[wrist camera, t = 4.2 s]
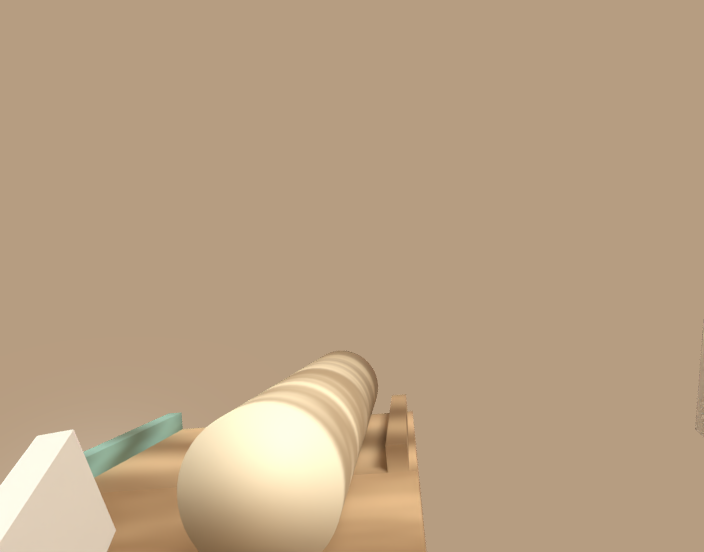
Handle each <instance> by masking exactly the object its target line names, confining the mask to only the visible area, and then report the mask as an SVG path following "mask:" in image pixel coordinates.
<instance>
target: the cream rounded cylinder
mask: <svg viewBox="0 0 704 552" xmlns="http://www.w3.org/2000/svg"><path fill="white" fill-rule="evenodd" d="M377 392H378V383H377V378H376V375H375V372H374V370H373V368H372V367H371V366H370V364H369V363H368V362H367V361H366V360H365V359H364V358H362V357H361V356H359V355H357V354H355V353H352V352H349V351H335V352H331V353H328V354H326V355H325V356H323V357H321V358H319V359H318V360H316V361H314V362H313V363H311V364H309V365H308V366H306V367H304V368H303V369H301V370H299V371H297V372H296V373H294V374H293V375H291V376H289V377H288V378H286V379H284V380H283V381H281V382H279V383H277V384H276V385H274V386H273V387H271V388H269V389H268V390H266V391H264V392H262V393H261V394H259V395H257V396H256V397H254V398H253V399H251V400H249V401H247V402H246V403H244V404H242V405H241V406H239V407H238V408H236V409H234V410H232V411H231V412H229V413H228V414H226V415H224V416H222V417H221V418H219V419H217V420H216V421H214V422H213V423H211V424H210V425H209V426H207V427H206V428H205V429H204V430H203V431H202V432H201V433H200V434H199V435H198V436H197V437H196V439H195V440H194V441H193V443H192V444H191V446H190V447H189V449H188V451H187V453H186V455H185V457H184V459H183V462H182V464H181V468H180V472H179V476H178V483H177V501H178V509H179V513H180V518H181V521H182V523H183V526H184V529H185V531H186V533H187V535H188V537H189V538H190V540H191V541H192V543H193V544H194V546H195V547H196V549H197V550H198V551H199V552H323V550H324V549H325V548H326V546H327V545H328V544H329V542H330V540H331V538H332V537H333V535H334V532H335V530H336V528H337V525H338V522H339V519H340V516H341V512H342V509H343V506H344V503H345V499H346V496H347V493H348V489H349V486H350V483H351V480H352V476H353V473H354V470H355V466H356V463H357V460H358V457H359V453H360V450H361V447H362V443H363V440H364V437H365V434H366V430H367V427H368V424H369V421H370V417H371V414H372V410H373V407H374V404H375V401H376V397H377Z"/></svg>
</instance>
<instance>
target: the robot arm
mask: <svg viewBox="0 0 704 552" xmlns="http://www.w3.org/2000/svg"><path fill="white" fill-rule="evenodd" d="M695 429H696V430H697V431H698V432H699V433H700V434H701V435H702V436H703V437H704V322H703V334H702V348H701V362H700V374H699V389H698V401H697V415H696V428H695ZM115 532H116V529H115V527H114V524H113V522H112V520H111V517H110V515H109V512H108V510H107V508H106V505H105V503H104V500H103V498H102V496H101V493H100V491H99V489H98V486H97V484H96V481H95V479H94V477H93V474H92V472H91V469H90V467H89V465H88V462H87V460H86V458H85V455H84V453H83V450H82V448H81V446H80V443H79V441H78V439H77V436H76V434H75V431H74V430H68V431H62V432H57V433H51V434H46V435H39V436H37V437H36V438H35V439H34V441H33V442H32V443H31V445H30V446H29V448H28V449H27V451H26V452H25V453H24V454H23V456H22V457H21V458H20V460H19V461H18V462H17V464H16V465H15V467H14V468H13V469H12V470H11V472H10V473H9V475H8V476H7V477H6V479H5V480H4V481H3V483H2V484H1V485H0V552H107V550H108V548H109V546H110V543H111V541H112V539H113V536H114V534H115Z"/></svg>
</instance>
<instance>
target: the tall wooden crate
mask: <svg viewBox="0 0 704 552" xmlns="http://www.w3.org/2000/svg"><path fill="white" fill-rule="evenodd" d="M204 429H205V428H193V429H182V415H181V413H171V414H167V415H165V416H162V417H160V418H158V419H156V420H153V421H151V422H149V423H147V424H145V425H142V426H140V427H138V428H136V429H133V430H131V431H129V432H127V433H125V434H123V435H120V436H118V437H116V438H114V439H111V440H109V441H107V442H104V443H102V444H100V445H98V446H96V447H93V448H91V449H89V450H87V451H84V452H83V453H84V455H85V458H86V460H87V462H88V465H89V467H90V469H91V472H92V474H93V477H94V479H95V481H96V484H97V486H98V489H99V491H100V493H101V496H102V498H103V500H104V503H105V505H106V508H107V510H108V512H109V515H110V517H111V520H112V522H113V524H114V527H115V529H116V532H115V534H114V536H113V539H112V541H111V543H110V546H109V548H108V550H107V552H199V551H198V550H197V549H196V547H195V546H194V544H193V543H192V541H191V540H190V538H189V537H188V535H187V533H186V531H185V529H184V526H183V523H182V521H181V518H180V513H179V509H178V501H177V483H178V476H179V472H180V468H181V464H182V462H183V459H184V457H185V455H186V453H187V451H188V449H189V447H190V446H191V444H192V443H193V441H194V440H195V439H196V437H197V436H198V435H199V434H200V433H201V432H202V431H203V430H204ZM323 552H426V542H425V532H424V522H423V512H422V503H421V492H420V482H419V472H418V462H417V452H416V442H415V432H414V422H413V412H412V411H411V412H407V403H406V395H394V396H392V400H391V407H390V413H385V414H373V415H371V417H370V421H369V424H368V427H367V430H366V434H365V437H364V440H363V443H362V447H361V450H360V453H359V457H358V460H357V463H356V466H355V470H354V473H353V476H352V480H351V483H350V486H349V489H348V493H347V496H346V499H345V503H344V506H343V509H342V512H341V516H340V519H339V522H338V525H337V528H336V530H335V532H334V535H333V537H332V538H331V540H330V542H329V544H328V545H327V546H326V548H325V549H324V550H323Z"/></svg>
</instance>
